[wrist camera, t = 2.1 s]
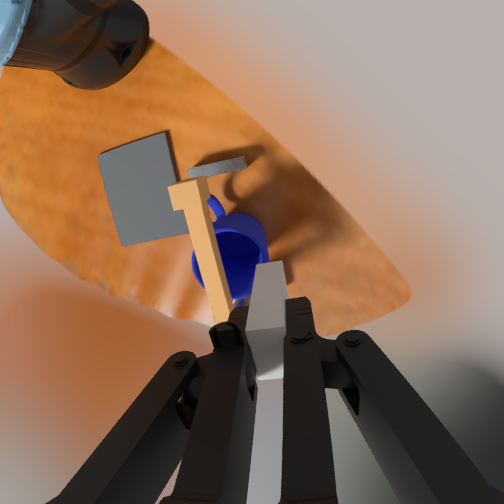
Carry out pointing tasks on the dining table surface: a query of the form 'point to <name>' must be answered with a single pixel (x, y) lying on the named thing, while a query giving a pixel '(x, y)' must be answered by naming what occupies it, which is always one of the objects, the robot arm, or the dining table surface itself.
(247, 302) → the dock
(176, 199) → the ball-tipped wooden rod
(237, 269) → the mug
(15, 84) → the dining table surface
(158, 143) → the coaster
